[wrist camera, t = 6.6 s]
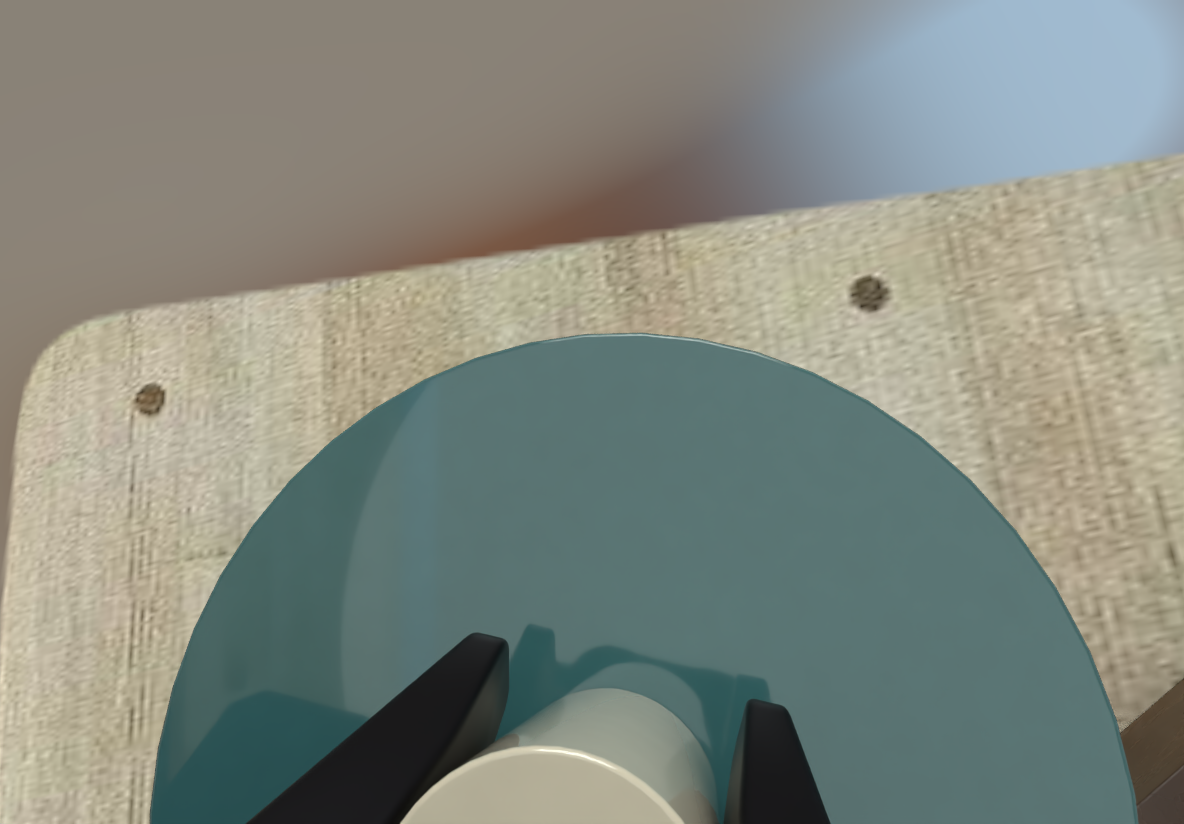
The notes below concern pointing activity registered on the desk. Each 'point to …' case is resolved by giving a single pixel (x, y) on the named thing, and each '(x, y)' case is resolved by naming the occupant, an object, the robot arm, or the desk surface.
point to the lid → (647, 604)
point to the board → (1158, 759)
